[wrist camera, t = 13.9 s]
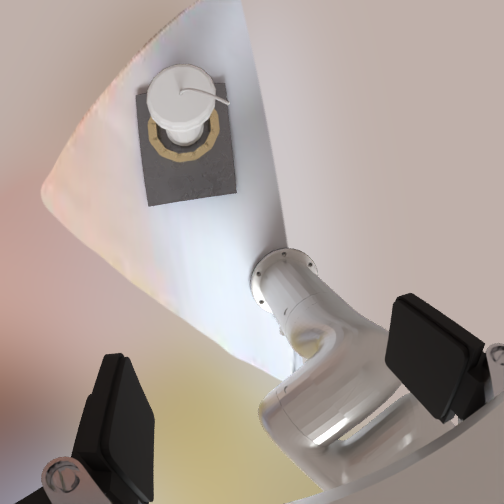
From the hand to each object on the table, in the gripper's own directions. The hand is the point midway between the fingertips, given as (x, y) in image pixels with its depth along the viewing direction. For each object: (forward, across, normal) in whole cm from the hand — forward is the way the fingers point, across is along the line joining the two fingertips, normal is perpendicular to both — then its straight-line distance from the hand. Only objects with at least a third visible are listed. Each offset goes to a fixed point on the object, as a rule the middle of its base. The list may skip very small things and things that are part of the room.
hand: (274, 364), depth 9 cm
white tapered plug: (+39, +2, -12) cm, 41 cm away
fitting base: (+40, +2, -10) cm, 42 cm away
